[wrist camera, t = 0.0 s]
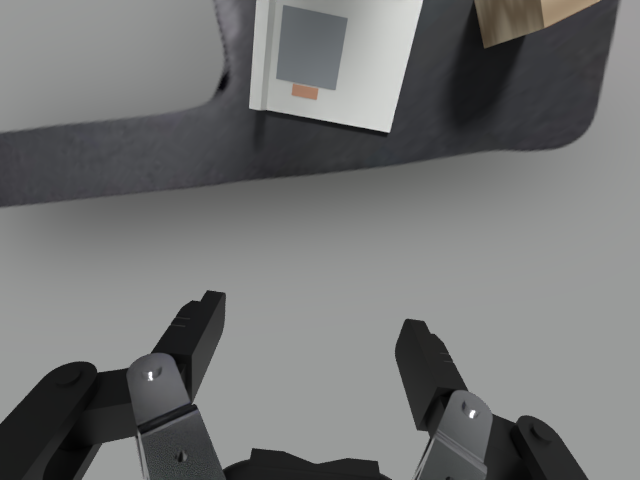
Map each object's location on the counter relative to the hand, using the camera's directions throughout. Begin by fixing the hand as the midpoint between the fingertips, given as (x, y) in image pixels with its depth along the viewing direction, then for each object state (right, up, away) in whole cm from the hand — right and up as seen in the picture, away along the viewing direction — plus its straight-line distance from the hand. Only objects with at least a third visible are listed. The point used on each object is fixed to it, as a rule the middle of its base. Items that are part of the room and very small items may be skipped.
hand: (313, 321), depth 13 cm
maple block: (+20, +28, +19) cm, 40 cm away
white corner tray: (+2, +27, +20) cm, 33 cm away
